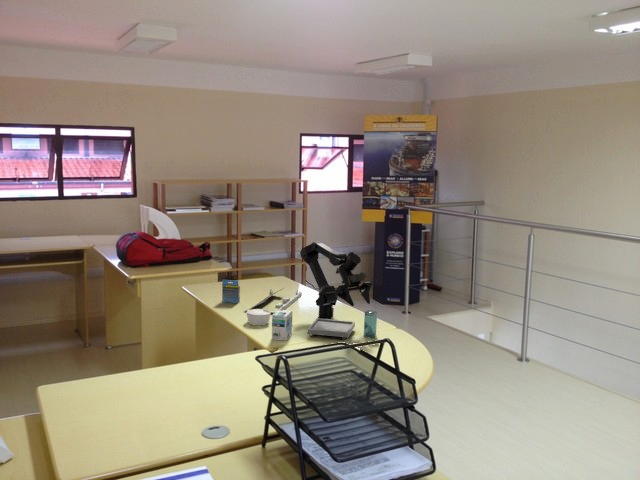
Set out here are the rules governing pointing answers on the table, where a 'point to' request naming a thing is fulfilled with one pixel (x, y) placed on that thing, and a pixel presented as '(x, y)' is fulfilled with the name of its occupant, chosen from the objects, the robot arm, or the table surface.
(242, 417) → the table surface
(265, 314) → the ramekin
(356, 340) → the table surface
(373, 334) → the teal canister
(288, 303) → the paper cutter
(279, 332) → the light bulb box
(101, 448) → the table surface
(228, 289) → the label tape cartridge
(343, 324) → the shallow grey tray
